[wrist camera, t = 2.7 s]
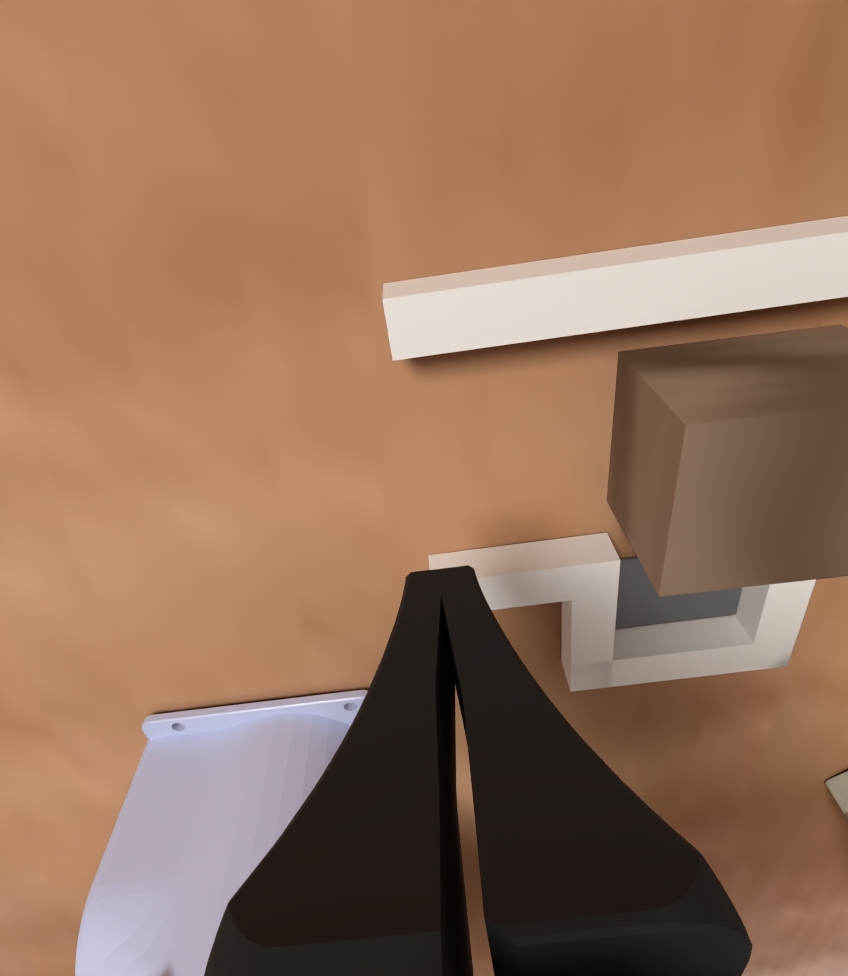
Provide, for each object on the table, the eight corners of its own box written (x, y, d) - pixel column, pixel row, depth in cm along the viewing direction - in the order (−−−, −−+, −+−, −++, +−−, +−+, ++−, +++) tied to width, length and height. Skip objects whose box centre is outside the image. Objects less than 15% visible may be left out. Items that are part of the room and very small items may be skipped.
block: (605, 498, 19) (658, 596, 15) (616, 349, 16) (686, 425, 12) (793, 476, 18) (894, 570, 15) (837, 322, 16) (975, 390, 12)
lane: (448, 675, 23) (454, 744, 20) (383, 283, 14) (381, 320, 12) (977, 612, 22) (1051, 676, 20) (1237, 159, 14) (1424, 171, 11)
